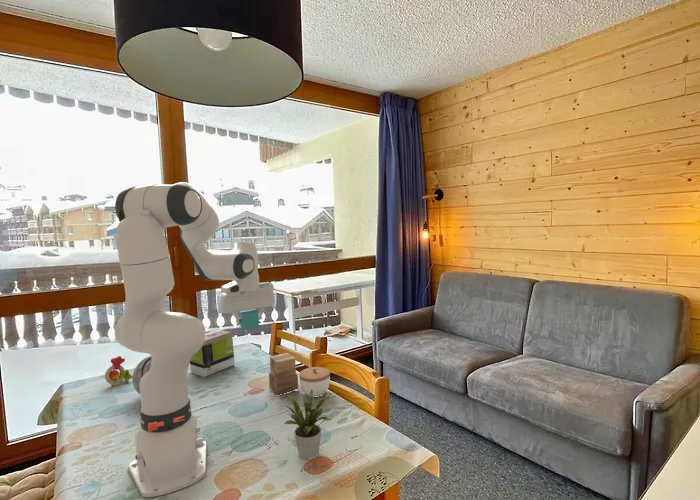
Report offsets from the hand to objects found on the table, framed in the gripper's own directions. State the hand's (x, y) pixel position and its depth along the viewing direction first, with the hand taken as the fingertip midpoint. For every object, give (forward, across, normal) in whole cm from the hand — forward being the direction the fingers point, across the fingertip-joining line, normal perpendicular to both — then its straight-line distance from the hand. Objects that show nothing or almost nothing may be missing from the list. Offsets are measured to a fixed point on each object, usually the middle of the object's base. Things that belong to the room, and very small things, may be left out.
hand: (249, 321), depth 146 cm
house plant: (+24, +5, +54) cm, 59 cm away
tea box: (+24, +8, -25) cm, 36 cm away
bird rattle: (+24, +41, -34) cm, 59 cm away
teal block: (+2, 0, 0) cm, 2 cm away
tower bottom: (+24, -7, +13) cm, 28 cm away
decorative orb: (+24, +31, -12) cm, 41 cm away
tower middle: (+18, -7, +13) cm, 23 cm away
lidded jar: (+24, -14, +23) cm, 36 cm away
